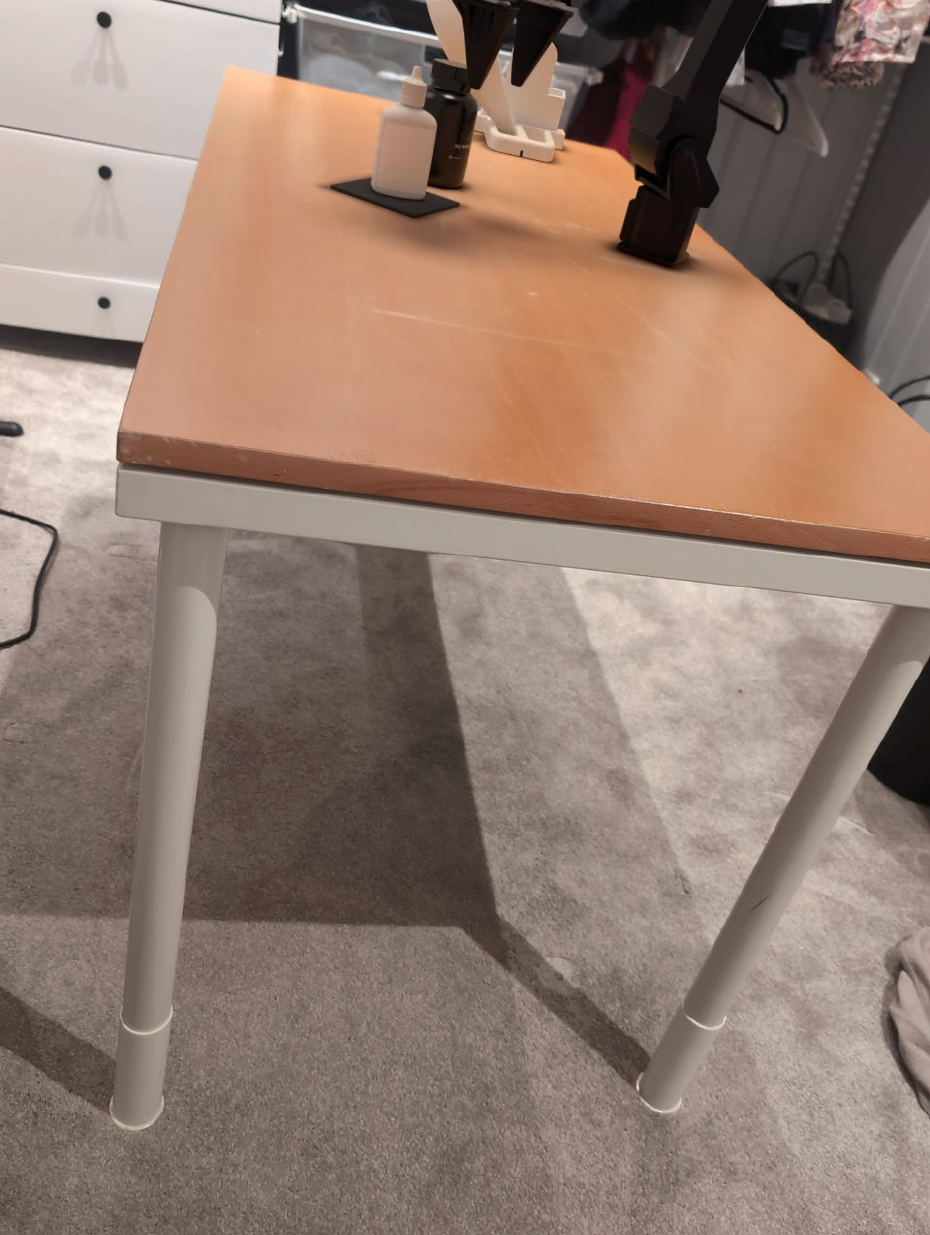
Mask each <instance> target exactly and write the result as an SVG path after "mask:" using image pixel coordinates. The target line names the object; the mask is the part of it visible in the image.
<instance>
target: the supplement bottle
mask: <svg viewBox="0 0 930 1235" xmlns="http://www.w3.org/2000/svg"><path fill="white" fill-rule="evenodd" d="M429 78H431V80H430V83H429V84H427V91H426V97H425V103H424V107H422V108H423V110H425V111H426V112H428V113H429V114H431V115H432V116H433V117H434V119H435V120H436V123H437V130H436V136H435V142H434V148H433V154H432V160H431V166H430V171H429V177H428V183H427V185H431V186H435V187H440V188H447V189H455V188H456V189H457V188H460V187H461V186H462V185H463V184H464V181H465V177H466V173H467V172H466V171H467V167H468V163H469V158H470V152H471V148H472V143H473V138H474V133H475V131H474V128H475V123H476V119H477V114H478V111H479V104H478V103H477V101H476V99H475V98H474V97H473V95H472V94H471V88H469V86H468V80H467V67H466V65H465V64H462V63H458V62H454V61H450V60H449V59H444V58H433V60H432V64H431V70H430V72H429Z"/></svg>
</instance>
